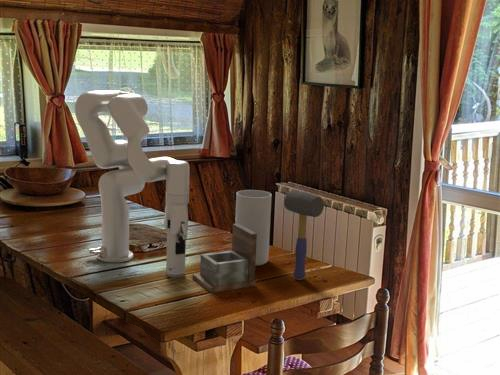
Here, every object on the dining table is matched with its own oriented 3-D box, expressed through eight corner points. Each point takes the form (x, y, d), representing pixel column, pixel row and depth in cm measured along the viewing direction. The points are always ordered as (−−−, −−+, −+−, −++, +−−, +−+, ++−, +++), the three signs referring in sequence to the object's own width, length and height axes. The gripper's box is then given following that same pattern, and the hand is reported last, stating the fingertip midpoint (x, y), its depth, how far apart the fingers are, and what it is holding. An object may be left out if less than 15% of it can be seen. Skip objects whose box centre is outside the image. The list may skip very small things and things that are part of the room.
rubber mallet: (278, 276, 223) (282, 190, 216) (292, 271, 228) (297, 187, 222) (306, 286, 214) (312, 197, 208) (320, 281, 219) (326, 194, 213)
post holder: (210, 292, 205) (212, 238, 202) (192, 278, 217) (194, 227, 214) (255, 285, 213) (257, 234, 209) (235, 272, 225) (237, 223, 221)
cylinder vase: (228, 263, 234) (230, 194, 229) (241, 253, 246) (244, 188, 241) (260, 268, 230) (264, 199, 225) (273, 258, 241) (276, 192, 236)
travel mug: (170, 279, 215) (171, 220, 211) (163, 272, 221) (164, 215, 217) (188, 277, 218) (189, 219, 214) (180, 270, 224) (182, 214, 220)
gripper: (157, 193, 220) (156, 244, 224) (176, 205, 205) (175, 259, 209) (177, 192, 223) (176, 242, 227) (198, 203, 209) (197, 257, 212)
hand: (176, 250), depth 218 cm, fingers closed on travel mug, 6 cm apart
